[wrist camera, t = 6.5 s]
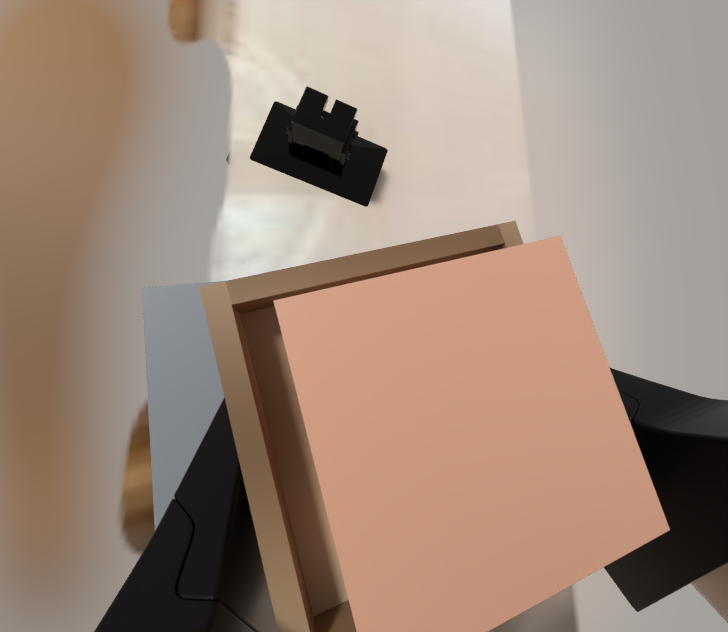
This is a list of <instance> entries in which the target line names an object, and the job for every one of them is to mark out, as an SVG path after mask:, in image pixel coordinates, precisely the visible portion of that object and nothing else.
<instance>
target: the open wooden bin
mask: <svg viewBox="0 0 728 632" xmlns="http://www.w3.org/2000/svg"><path fill="white" fill-rule="evenodd" d="M522 244H523V241H522V239H521V236H520V233H519V230H518V228H517V225H516V222H515V221H512V222H508V223H503V224H498V225H493V226H488V227H483V228H479V229H474V230H469V231H464V232H459V233H455V234H450V235H445V236H440V237H435V238H431V239H426V240H421V241H416V242H411V243H407V244H402V245H397V246H392V247H387V248H383V249H378V250H373V251H368V252H363V253H359V254H354V255H349V256H344V257H339V258H335V259H330V260H325V261H320V262H315V263H310V264H306V265H301V266H296V267H291V268H286V269H282V270H277V271H272V272H267V273H262V274H258V275H253V276H248V277H243V278H238V279H234V280H229V281H224V282H219V283H214V284H210V285H205V286H200V287H199V288H200V292H201V296H202V301H203V305H204V309H205V314H206V318H207V323H208V327H209V331H210V336H211V340H212V344H213V349H214V353H215V357H216V362H217V366H218V371H219V375H220V379H221V384H222V388H223V392H224V397H225V401H226V405H227V410H228V414H229V419H230V423H231V427H232V432H233V436H234V440H235V445H236V449H237V454H238V458H239V462H240V467H241V471H242V475H243V480H244V484H245V488H246V493H247V497H248V502H249V506H250V510H251V515H252V519H253V523H254V528H255V532H256V536H257V541H258V545H259V550H260V554H261V558H262V563H263V567H264V571H265V576H266V580H267V584H268V589H269V593H270V598H271V602H272V606H273V611H274V615H275V619H276V624H277V628H278V632H357V631H356V627H355V623H354V619H353V615H352V611H351V607H350V603H349V599H348V595H347V591H346V587H345V583H344V579H343V575H342V571H341V567H340V563H339V559H338V555H337V551H336V547H335V543H334V539H333V535H332V532H331V528H330V524H329V520H328V516H327V512H326V508H325V504H324V500H323V496H322V492H321V488H320V484H319V480H318V476H317V472H316V468H315V464H314V460H313V456H312V452H311V448H310V444H309V440H308V436H307V432H306V428H305V424H304V420H303V416H302V412H301V408H300V404H299V400H298V397H297V393H296V389H295V385H294V381H293V377H292V373H291V369H290V365H289V361H288V357H287V353H286V349H285V345H284V341H283V337H282V333H281V329H280V325H279V321H278V317H277V313H276V309H275V305H274V300H278V299H283V298H287V297H291V296H296V295H300V294H305V293H309V292H314V291H318V290H322V289H327V288H331V287H336V286H340V285H345V284H349V283H353V282H358V281H362V280H367V279H371V278H376V277H380V276H384V275H389V274H393V273H398V272H402V271H407V270H411V269H415V268H420V267H424V266H429V265H433V264H438V263H442V262H446V261H451V260H455V259H460V258H464V257H469V256H473V255H477V254H482V253H486V252H491V251H495V250H500V249H504V248H508V247H513V246H517V245H522Z"/></svg>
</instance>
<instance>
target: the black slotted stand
mask: <svg viewBox="0 0 728 632" xmlns="http://www.w3.org/2000/svg"><path fill="white" fill-rule="evenodd" d="M327 102H328V95H325V94H323V93H321V92H319V91H316V90H314V89H312V88H310V87H306V89H305V91H304V93H303V96H302V98H301V100H300V102H299V105H298V106H297V108H296V110H295V109H293V108H291V107H289V106H286V105H284V104H282V103H279V102H277V101H276V102H274V104H273V106H272V108H271V110H270V113H269V115H268V117H267V120H266V122H265V124H264V126H263V129H262V131H261V133H260V135H259V138H258V140H257V142H256V145H255V147H254V149H253V151H252V154H251V156H250V159H251V160H253V161H255V162H258V163H260V164H263V165H265V166H267V167H270V168H272V169H275V170H277V171H280V172H282V173H285V174H287V175H290V176H292V177H294V178H297V179H299V180H302V181H304V182H307V183H309V184H312V185H314V186H316V187H319V188H321V189H324V190H326V191H329V192H331V193H334V194H336V195H339V196H341V197H343V198H346V199H348V200H351V201H353V202H356V203H358V204H361V205H363V206H368V204H369V201H370V199H371V196H372V193H373V190H374V187H375V185H376V182H377V179H378V176H379V173H380V171H381V168H382V165H383V162H384V159H385V157H386V154H387V149H386V148H384V147H381V146H379V145H377V144H374V143H372V142H370V141H367V140H365V139H363V138H360V137H358V133H359V132H357V131H356V130H357V126H358V122H359V121H358V120H355V117H356V113H357V108H354V107H352V106H350V105H348V104H345V103H343V102H341V101H339V100H336V101H335V104H334V106H333V108H332V111H331V113H328V112H326V111H324V109H325V107H326V104H327ZM229 156H230V152H229V154H228V156H227V159H226V160H227V163H228V165H229Z"/></svg>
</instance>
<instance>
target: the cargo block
mask: <svg viewBox="0 0 728 632" xmlns="http://www.w3.org/2000/svg"><path fill="white" fill-rule="evenodd" d="M274 305H275V309H276V313H277V317H278V321H279V325H280V329H281V333H282V337H283V341H284V345H285V349H286V353H287V357H288V361H289V365H290V369H291V373H292V377H293V381H294V385H295V389H296V393H297V397H298V400H299V404H300V408H301V412H302V416H303V420H304V424H305V428H306V432H307V436H308V440H309V444H310V448H311V452H312V456H313V460H314V464H315V468H316V472H317V476H318V480H319V484H320V488H321V492H322V496H323V500H324V504H325V508H326V512H327V516H328V520H329V524H330V528H331V532H332V535H333V539H334V543H335V547H336V551H337V555H338V559H339V563H340V567H341V571H342V575H343V579H344V583H345V587H346V591H347V595H348V599H349V603H350V607H351V611H352V615H353V619H354V623H355V627H356V631H357V632H488V631H490V630H492V629H493V628H495V627H497V626H499V625H501V624H502V623H504V622H506V621H508V620H509V619H511V618H513V617H515V616H517V615H518V614H520V613H522V612H524V611H526V610H527V609H529V608H531V607H533V606H535V605H536V604H538V603H540V602H542V601H544V600H545V599H547V598H549V597H551V596H553V595H554V594H556V593H558V592H560V591H562V590H563V589H565V588H567V587H569V586H570V585H572V584H574V583H576V582H578V581H579V580H581V579H583V578H585V577H586V576H588V575H590V574H592V573H594V572H595V571H597V570H599V569H601V568H603V567H605V566H606V565H608V564H610V563H612V562H614V561H615V560H617V559H619V558H621V557H623V556H624V555H626V554H628V553H630V552H632V551H633V550H635V549H637V548H639V547H640V546H642V545H644V544H646V543H648V542H649V541H651V540H653V539H655V538H657V537H658V536H660V535H662V534H664V533H666V532H667V531H669V530H670V528H669V526H668V523H667V520H666V518H665V515H664V512H663V510H662V507H661V504H660V502H659V499H658V496H657V494H656V491H655V488H654V486H653V483H652V480H651V477H650V475H649V472H648V469H647V467H646V464H645V461H644V459H643V456H642V453H641V451H640V448H639V445H638V443H637V440H636V437H635V435H634V432H633V429H632V426H631V424H630V421H629V418H628V416H627V413H626V410H625V408H624V405H623V402H622V400H621V397H620V394H619V392H618V389H617V386H616V384H615V381H614V378H613V375H612V373H611V370H610V367H609V365H608V362H607V359H606V357H605V354H604V351H603V349H602V346H601V344H600V341H599V338H598V335H597V333H596V330H595V327H594V325H593V322H592V319H591V317H590V314H589V311H588V309H587V306H586V303H585V300H584V298H583V296H582V292H581V290H580V287H579V284H578V282H577V279H576V276H575V274H574V271H573V268H572V265H571V263H570V260H569V257H568V255H567V252H566V249H565V247H564V244H563V241H562V239H561V236H557V237H553V238H548V239H544V240H540V241H535V242H531V243H526V244H522V245H517V246H513V247H508V248H504V249H500V250H495V251H491V252H486V253H482V254H477V255H473V256H469V257H464V258H460V259H455V260H451V261H446V262H442V263H438V264H433V265H429V266H424V267H420V268H415V269H411V270H407V271H402V272H398V273H393V274H389V275H384V276H380V277H376V278H371V279H367V280H362V281H358V282H353V283H349V284H345V285H340V286H336V287H331V288H327V289H322V290H318V291H314V292H309V293H305V294H300V295H296V296H291V297H287V298H283V299H278V300H274Z"/></svg>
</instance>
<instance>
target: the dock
mask: <svg viewBox="0 0 728 632" xmlns="http://www.w3.org/2000/svg"><path fill="white" fill-rule="evenodd" d="M220 282H224V281H220ZM214 283H219V282H208V283H196V284H186V285H185V284H184V285H174V286H161V287H149V288H142V296H143V315H144V332H145V353H146V372H147V391H148V409H149V428H150V447H151V466H152V485H153V504H154V522H155V530H156V528H157V527H158V525H159V523H160V521H161V519H162V517H163V515H164V513H165V512H166V510H167V508H168V506H169V504H170V502H171V500H172V499H175V498H174V494H175V492H176V490H177V488H178V486H179V485H180V483H181V481H182V479H183V477H184V475H185V473H186V471H187V469H188V467H189V465H190V463H191V461H192V459H193V457H194V455H195V453H196V451H197V449H198V447H199V446H200V444H201V442H202V440H203V438H204V436H205V434H206V432H207V430H208V428H209V426H210V424H211V422H212V420H213V418H214V416H215V414H216V412H217V410H218V408H219V407H220V405H221V403H222V401H223V399H224V392H223V388H222V384H221V379H220V375H219V371H218V366H217V362H216V357H215V353H214V349H213V344H212V340H211V336H210V331H209V327H208V323H207V318H206V314H205V309H204V305H203V301H202V296H201V292H200V288H199V287H200V286H205V285H210V284H214Z"/></svg>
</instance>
